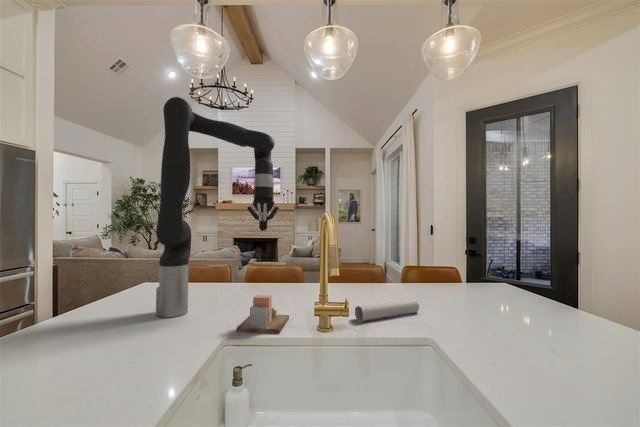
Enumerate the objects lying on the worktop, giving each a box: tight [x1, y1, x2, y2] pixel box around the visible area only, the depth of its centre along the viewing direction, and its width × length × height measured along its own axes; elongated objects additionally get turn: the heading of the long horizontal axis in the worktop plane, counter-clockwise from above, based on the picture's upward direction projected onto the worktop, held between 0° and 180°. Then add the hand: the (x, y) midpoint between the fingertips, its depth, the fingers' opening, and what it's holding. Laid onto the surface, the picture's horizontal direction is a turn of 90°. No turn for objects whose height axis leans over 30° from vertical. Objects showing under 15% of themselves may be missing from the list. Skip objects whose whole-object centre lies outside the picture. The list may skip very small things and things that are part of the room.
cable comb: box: [272, 306, 278, 316], centre depth 98 cm, size 5×1×3 cm, turn 84°
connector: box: [249, 305, 268, 329], centre depth 88 cm, size 5×3×6 cm, turn 84°
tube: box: [354, 299, 420, 323], centre depth 102 cm, size 5×5×25 cm
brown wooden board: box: [236, 314, 290, 334], centre depth 93 cm, size 13×13×1 cm
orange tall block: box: [252, 294, 273, 324], centre depth 91 cm, size 5×3×8 cm, turn 84°
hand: (263, 230), depth 115 cm, fingers closed
